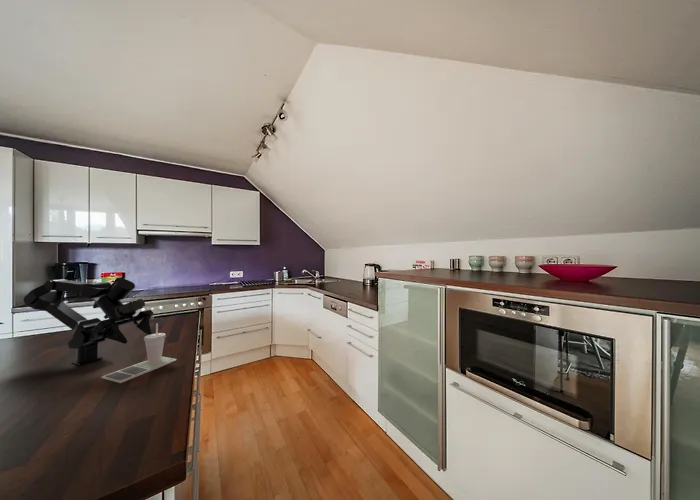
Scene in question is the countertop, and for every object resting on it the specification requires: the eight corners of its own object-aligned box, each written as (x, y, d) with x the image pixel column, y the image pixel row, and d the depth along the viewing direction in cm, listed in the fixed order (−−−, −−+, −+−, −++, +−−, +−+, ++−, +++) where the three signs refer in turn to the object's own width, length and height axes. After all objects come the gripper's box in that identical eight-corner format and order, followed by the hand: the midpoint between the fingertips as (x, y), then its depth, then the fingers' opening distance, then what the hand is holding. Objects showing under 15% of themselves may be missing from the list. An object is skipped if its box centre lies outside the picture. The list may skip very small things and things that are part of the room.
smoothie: (162, 363, 88) (162, 324, 88) (140, 367, 86) (140, 327, 86) (167, 357, 94) (168, 320, 94) (147, 360, 91) (147, 322, 92)
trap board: (101, 378, 79) (101, 376, 79) (158, 357, 96) (158, 355, 96) (120, 383, 76) (120, 381, 76) (176, 360, 92) (176, 358, 92)
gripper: (99, 297, 83) (127, 331, 81) (150, 290, 101) (173, 317, 100) (78, 320, 83) (106, 354, 82) (133, 308, 102) (156, 335, 100)
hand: (139, 338), depth 91 cm, fingers open, 9 cm apart
